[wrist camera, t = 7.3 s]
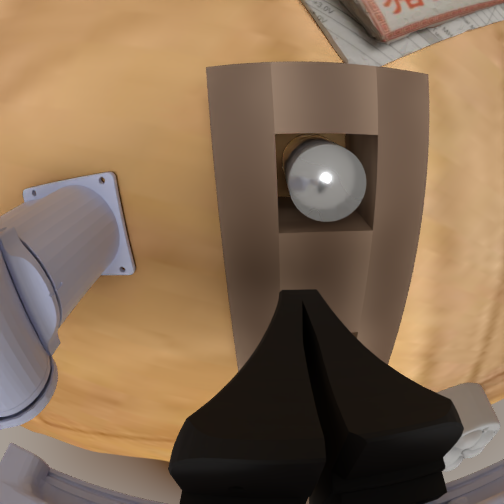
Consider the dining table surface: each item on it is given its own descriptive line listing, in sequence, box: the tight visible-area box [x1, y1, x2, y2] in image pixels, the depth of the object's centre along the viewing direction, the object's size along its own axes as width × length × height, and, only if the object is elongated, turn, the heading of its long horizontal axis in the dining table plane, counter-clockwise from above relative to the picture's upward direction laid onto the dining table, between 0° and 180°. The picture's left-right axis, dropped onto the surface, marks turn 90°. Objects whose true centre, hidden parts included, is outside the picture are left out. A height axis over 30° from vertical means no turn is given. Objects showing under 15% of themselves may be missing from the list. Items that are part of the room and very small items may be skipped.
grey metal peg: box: [282, 134, 366, 222], centre depth 16 cm, size 4×4×6 cm
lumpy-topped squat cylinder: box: [437, 383, 500, 471], centre depth 27 cm, size 10×13×9 cm
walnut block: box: [206, 62, 429, 372], centre depth 18 cm, size 10×22×6 cm, turn 4°
